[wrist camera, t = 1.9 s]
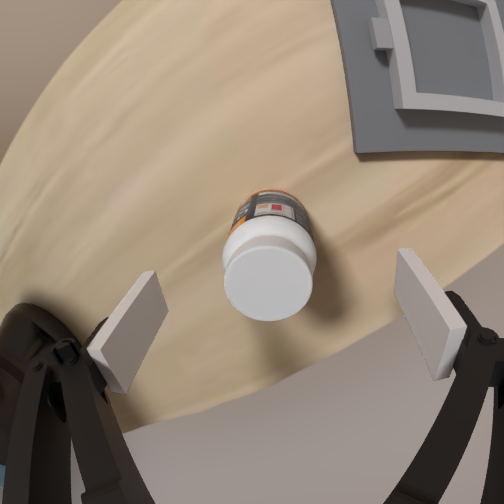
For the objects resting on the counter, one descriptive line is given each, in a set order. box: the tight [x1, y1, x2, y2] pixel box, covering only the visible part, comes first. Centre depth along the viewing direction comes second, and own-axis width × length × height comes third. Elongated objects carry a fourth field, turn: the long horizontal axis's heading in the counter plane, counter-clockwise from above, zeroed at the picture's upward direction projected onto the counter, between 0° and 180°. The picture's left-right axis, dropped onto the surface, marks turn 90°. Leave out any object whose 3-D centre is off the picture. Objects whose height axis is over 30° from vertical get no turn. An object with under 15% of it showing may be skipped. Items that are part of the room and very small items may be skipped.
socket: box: [330, 0, 504, 153], centre depth 16 cm, size 18×18×3 cm
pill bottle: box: [222, 188, 317, 321], centre depth 20 cm, size 6×6×10 cm
